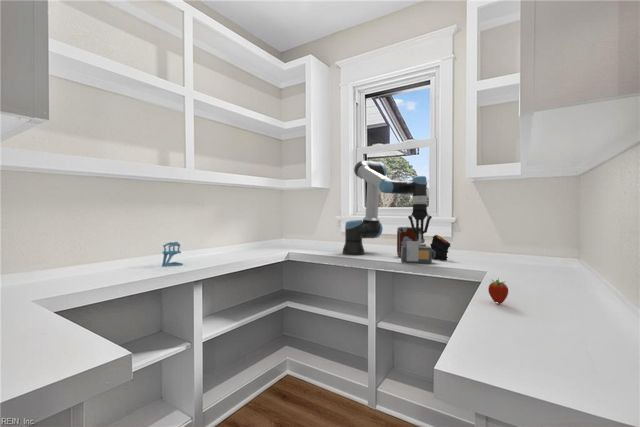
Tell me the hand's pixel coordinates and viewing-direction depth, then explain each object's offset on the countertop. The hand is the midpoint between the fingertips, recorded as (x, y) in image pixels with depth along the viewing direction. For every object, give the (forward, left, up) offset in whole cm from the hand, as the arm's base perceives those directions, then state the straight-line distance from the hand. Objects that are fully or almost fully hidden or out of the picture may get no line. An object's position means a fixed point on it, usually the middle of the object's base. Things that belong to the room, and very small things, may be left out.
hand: (419, 245), depth 175 cm
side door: (-4, 0, -9) cm, 10 cm away
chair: (-128, -38, -11) cm, 134 cm away
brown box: (0, +28, -11) cm, 30 cm away
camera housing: (0, +5, -10) cm, 11 cm away
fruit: (+13, -78, -11) cm, 80 cm away
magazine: (+15, +19, -11) cm, 26 cm away
